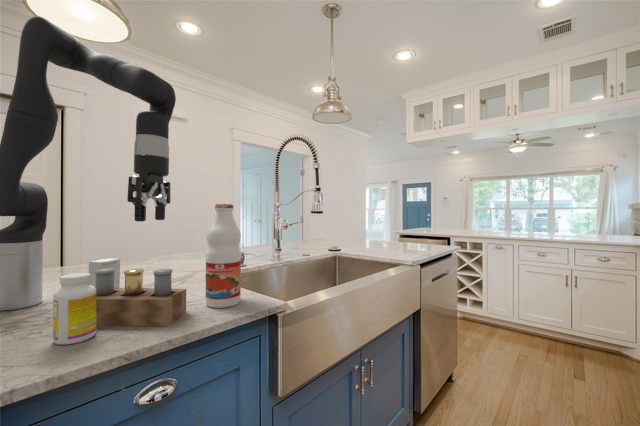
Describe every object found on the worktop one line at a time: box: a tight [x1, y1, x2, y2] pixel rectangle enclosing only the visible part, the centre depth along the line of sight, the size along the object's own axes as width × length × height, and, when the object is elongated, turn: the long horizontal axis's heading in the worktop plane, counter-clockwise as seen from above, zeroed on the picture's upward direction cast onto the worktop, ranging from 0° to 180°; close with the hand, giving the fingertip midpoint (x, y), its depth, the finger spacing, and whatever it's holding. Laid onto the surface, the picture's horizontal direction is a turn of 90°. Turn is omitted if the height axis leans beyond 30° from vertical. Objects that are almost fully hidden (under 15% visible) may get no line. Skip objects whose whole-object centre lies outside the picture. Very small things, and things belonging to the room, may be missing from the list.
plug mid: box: [123, 268, 145, 296], centre depth 68 cm, size 4×4×7 cm
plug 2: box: [152, 268, 173, 297], centre depth 68 cm, size 4×4×7 cm
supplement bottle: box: [52, 272, 97, 346], centre depth 57 cm, size 7×7×13 cm
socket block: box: [96, 287, 187, 327], centre depth 68 cm, size 21×9×6 cm, turn 90°
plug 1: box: [95, 268, 115, 296], centre depth 68 cm, size 4×4×7 cm
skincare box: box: [88, 257, 121, 288], centre depth 79 cm, size 6×4×12 cm
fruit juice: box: [205, 203, 242, 309], centre depth 80 cm, size 9×9×28 cm
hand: (150, 220), depth 71 cm, fingers open, 8 cm apart
